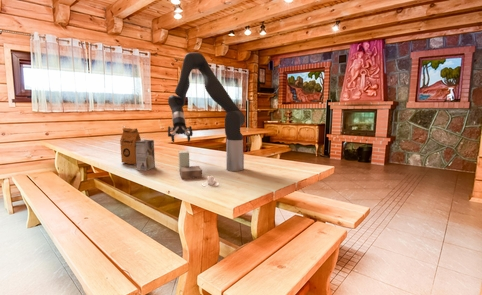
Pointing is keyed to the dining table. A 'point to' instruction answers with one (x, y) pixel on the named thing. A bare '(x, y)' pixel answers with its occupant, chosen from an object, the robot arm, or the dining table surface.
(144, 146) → the coffee box
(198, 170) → the walnut plinth
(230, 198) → the dining table surface
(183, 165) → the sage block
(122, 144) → the coffee package
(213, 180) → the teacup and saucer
